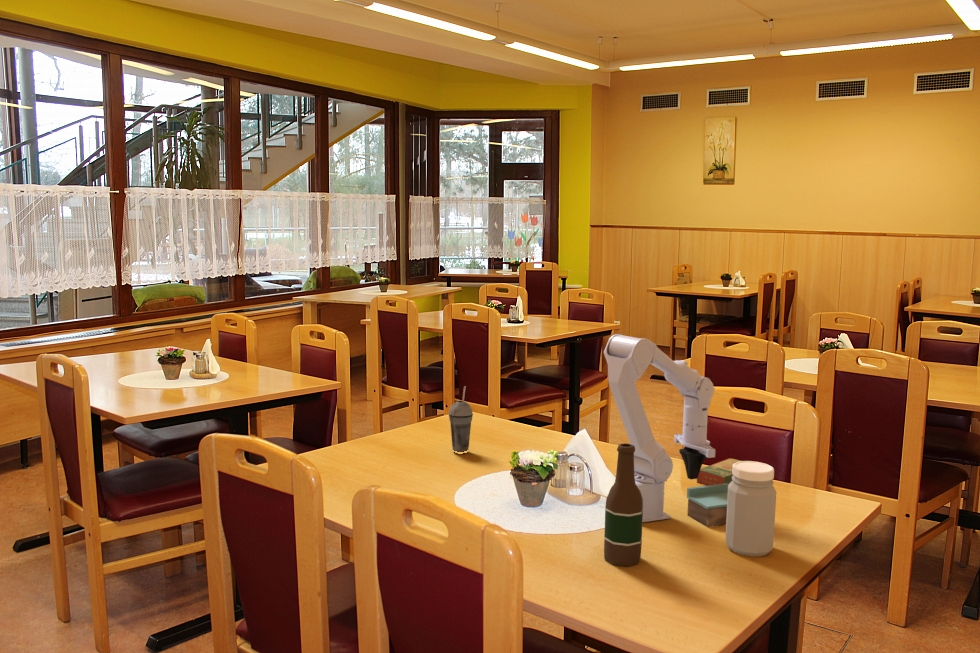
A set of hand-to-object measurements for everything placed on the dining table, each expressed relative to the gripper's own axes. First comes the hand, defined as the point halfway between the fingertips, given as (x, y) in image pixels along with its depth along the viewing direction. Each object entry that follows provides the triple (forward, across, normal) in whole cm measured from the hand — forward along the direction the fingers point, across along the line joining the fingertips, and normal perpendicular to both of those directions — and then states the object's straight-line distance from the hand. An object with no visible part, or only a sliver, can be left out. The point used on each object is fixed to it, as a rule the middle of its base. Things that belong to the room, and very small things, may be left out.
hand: (692, 478), depth 193 cm
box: (+6, -11, 0) cm, 12 cm away
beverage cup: (+7, +59, +41) cm, 72 cm away
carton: (+7, +12, -19) cm, 24 cm away
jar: (+7, -28, +4) cm, 29 cm away
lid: (+2, -10, 0) cm, 10 cm away
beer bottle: (+7, -24, +32) cm, 41 cm away
